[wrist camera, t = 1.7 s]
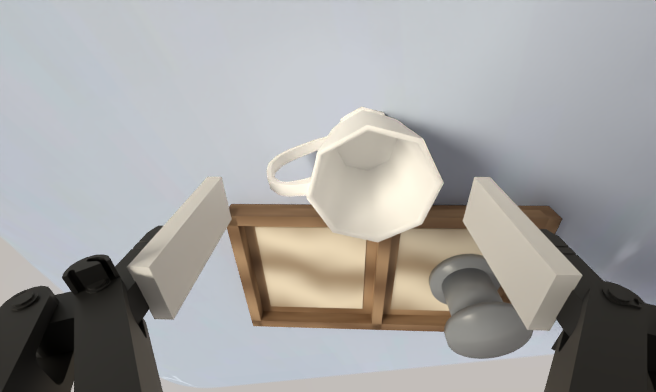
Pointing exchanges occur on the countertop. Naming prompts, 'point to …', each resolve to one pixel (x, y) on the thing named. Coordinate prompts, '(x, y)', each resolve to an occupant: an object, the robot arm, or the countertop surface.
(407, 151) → the cup
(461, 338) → the doorknob
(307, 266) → the slot tray
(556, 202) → the countertop surface
